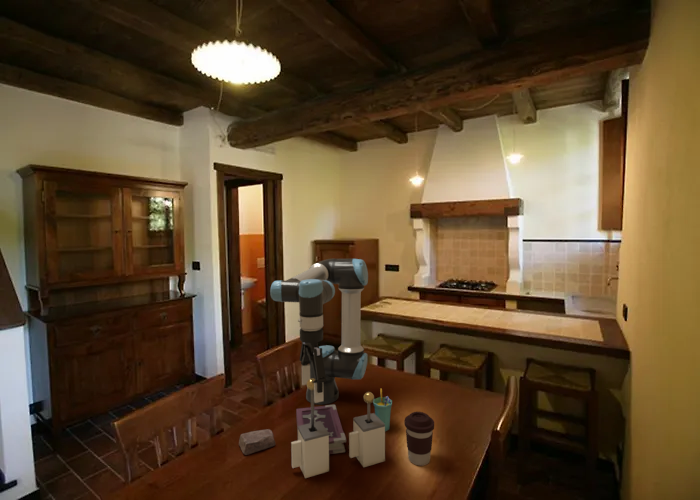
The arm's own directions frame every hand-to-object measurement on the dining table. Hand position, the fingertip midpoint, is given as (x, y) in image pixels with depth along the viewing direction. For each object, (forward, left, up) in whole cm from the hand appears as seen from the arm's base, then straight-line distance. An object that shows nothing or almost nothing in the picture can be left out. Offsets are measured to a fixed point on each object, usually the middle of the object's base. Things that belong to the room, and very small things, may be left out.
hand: (312, 392), depth 115 cm
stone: (-20, -15, -26) cm, 36 cm away
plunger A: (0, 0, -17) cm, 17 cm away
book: (-17, +8, -26) cm, 32 cm away
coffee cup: (+11, +34, -26) cm, 44 cm away
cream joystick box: (0, -1, -25) cm, 25 cm away
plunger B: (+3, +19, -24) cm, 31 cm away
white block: (+3, +18, -25) cm, 31 cm away
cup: (-10, +32, -26) cm, 42 cm away
